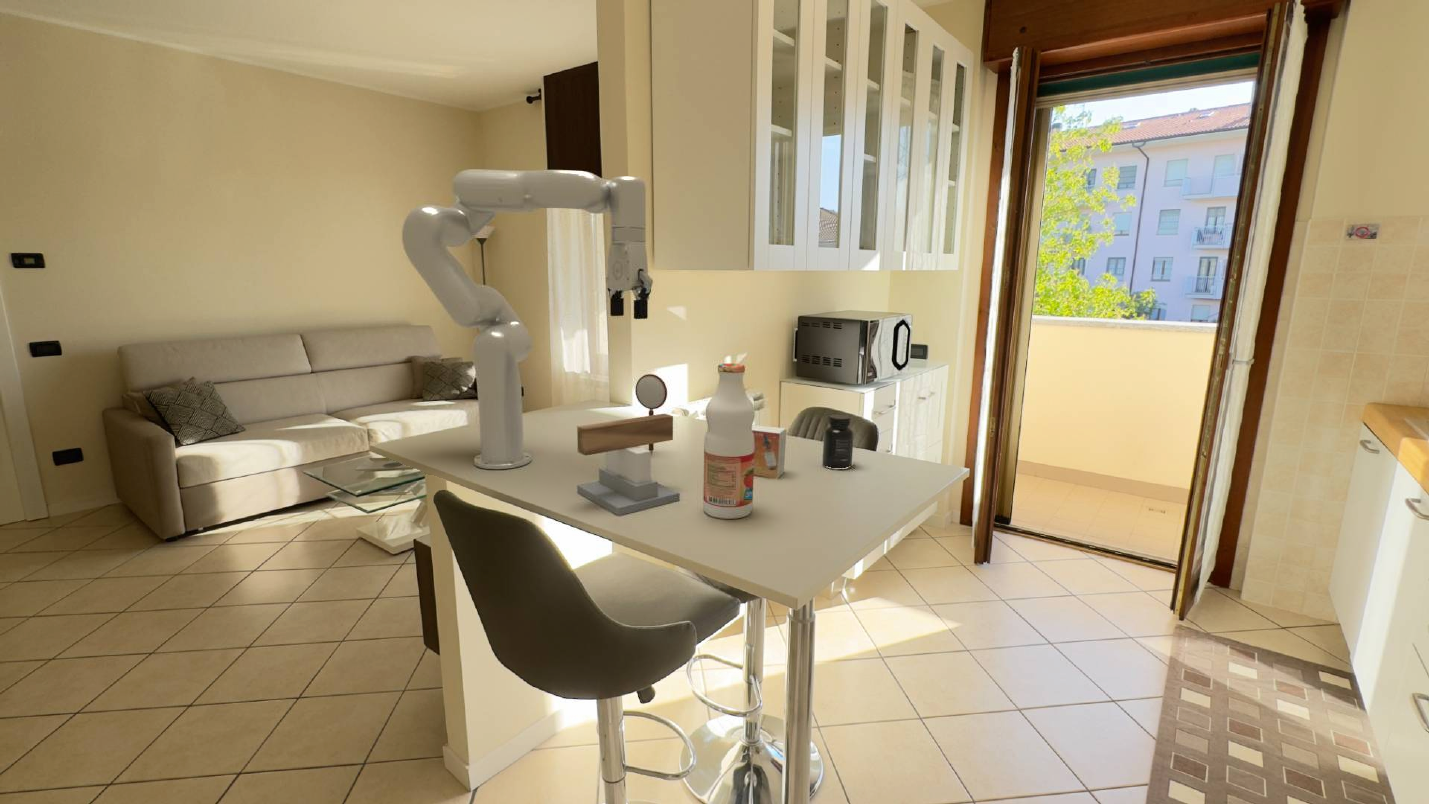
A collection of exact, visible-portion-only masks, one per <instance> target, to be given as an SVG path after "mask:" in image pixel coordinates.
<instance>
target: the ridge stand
mask: <svg viewBox="0 0 1429 804" xmlns="http://www.w3.org/2000/svg"><path fill="white" fill-rule="evenodd" d="M651 458H652V454H651V451H650V450H649V449H646V448H643V447H642V446H637V447H631V448H625V449H620V450H614V451H609V452H605V467H600V468H598V477H599V478H598V480H597V481H591V482H587V483H583V484H577V485H576V493H577V492H578V494H579V495H581V496H583V497H584V498H586V499H588V500H589V501H592V502H594V504H597V505H598V506H600V507H602V508H603V509H605V510H607V511H609V512H611V513H613V514H614V515H616V516H618V517H619V516H623V515H628V514H631V513H635V512H638V511H639V512H640V511H643V510H647V509H652V508H655V507H658V506H659V507H660V506H662V505H663V506H664V505H666V504H671V503H675V502H678V501H680V497H681V496H680V495H681V494H680V492H679V491H675V490H673V489H671V488H670V487H667V486H664V485H662V484H661V483H659V481H658V480H655V479H653V478H652V476H651V475H652V473H651V472H652V471H651V470H652V467H651V466H652V465H651V464H652V463H651V462H652V459H651Z"/></svg>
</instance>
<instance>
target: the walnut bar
mask: <svg viewBox="0 0 1429 804" xmlns="http://www.w3.org/2000/svg"><path fill="white" fill-rule="evenodd" d="M576 427H577V428H576V429H577V432H576V433H577V435H576V436H577V453H579V454H581V455H583V456H585V457H586V456H591V455H596V454H603V453H606V452H609V451H614V450H620V449H625V448H631V447H637V446H639V447H642V446H646V445H648V446H649V444H653V443H654V444H657V443H659V444H660V443H663V442H664V443H665V442H670V441H673V440H674V416H673V415H670V414H668V413H659V414H658V413H657V414H654V415H651V416H649V415H646V416H639V417H633V418H627V419H626V418H625V419H620V420H619V419H618V420H612V421H604V422H598V423H597V422H596V423H591V424H585V425H579V426H576Z"/></svg>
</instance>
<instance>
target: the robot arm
mask: <svg viewBox="0 0 1429 804" xmlns="http://www.w3.org/2000/svg"><path fill="white" fill-rule="evenodd" d="M646 188H647V187H646V182H645V180H643V179H642V178H640V177H637V176H631V175H630V176H628V175H627V176H623V175H621V176H620V175H619V176H615V177H613V178H612V179H606V178H605V179H604V178H602V177H600V176H598V175H596V174H594V173H592V172H589V171H584V170H572V169H571V170H570V169H569V170H568V169H567V170H566V169H565V170H564V169H541V170H538V169H537V170H534V169H533V170H513V169H512V170H508V169H507V170H506V169H504V170H503V169H481V168H480V169H476V168H475V169H473V168H472V169H469V168H468V169H464V170H461V171H460V172H458V173H457V174H456V175H455V176H454V177H453V180H452V184H451V191H452V195H453V197H454V198H455V202H453V203H452V205H450V206H449V207H445V206H441V205H436V204H423V205H419V206H417V207H415V208H414V209H412V210H411V211H410V212H409V213H408V214H407V216H406V217H405V220H404V222H403V225H402V231H401V239H402V240H401V241H402V246H403V249H404V252H405V254H406V256H407V259H408V260H409V262H410V263H411V265H412V266H413V267H414V269H415V271H417V273H418V274H419V276H420V277H421V278H422V279H423V281H424V282H425V283H426V285H427V286H428V288H430V291H431V292H432V293H433V295H434V296H435V298H436V299H437V300H438V301H439V303H440V304H441V306H442V307H443V309H445V311H446V313H447V314H448V315H449V317H450V318H451V319H452V321H453V322H454V323H456V325H458V326H460V327H462V328H465V329H471V328H472V329H473V328H478V329H479V332H478V334H476V336H474V339H473V341H472V346H471V357H472V362H473V367H474V370H475V377H476V388H477V399H478V400H477V403H478V419H479V421H478V422H479V437H480V439H479V442H480V454H478V455H476V456H475V457H474V459H473V464H474V465H475V466H476V467H478V468H481V469H487V470H505V469H506V470H507V469H508V470H509V469H515V468H518V467H522V466H525V465H527V464H529V463H530V462H531V460H532V455H531V453H529V452H527V451H525V450H524V449H525V448H524V447H525V446H524V445H525V443H524V420H523V419H524V417H523V398H522V381H521V376H520V370H519V367H518V363H520V362H522V361H524V360H525V359H526V358H527V357H529V355H530V353H531V351H532V346H533V341H532V340H533V339H532V336H531V335H530V334H531V333H530V332H529V330H528V329H527V328H526V326H525V324H524V323H523V322H522V320H521V318H519V316H518V315H517V314H516V312H515V311H514V309H513V308H512V307H511V304H510V303H509V302H508V301H507V300H506V298H505V297H504V296H503V295H502V294H501V293H500V292H499V291H498V290H497V289H496V288H493V287H492V286H489V285H486V284H478V283H476V282H475V281H474V280H473V279H472V277H471V276H470V274H468V272H467V271H466V269H465V268H464V266H463V265H462V263H461V262H460V261H459V260H458V259H457V258H456V257H455V256H454V255H453V254H452V253H451V252H450V251H449V249H448V248H457V247H458V248H459V247H462V246H464V245H466V244H467V243H469V242H470V241H472V239H474V238H475V236H477V235H478V234H479V233H480V232H481V231H482V230H483V229H484V228H485V227H486V226H487V225H488V224H489V223H491V221H493V219H494V218H495V217H496V216H497V215H498V214H499V213H500V212H509V213H511V212H512V213H533V212H535V211H537V210H540V209H572V210H582V211H586V212H588V213H591V214H596V215H597V214H598V215H599V214H607V213H610V214H609V215H610V219H609V220H610V225H609V227H610V244H609V248H608V257H607V268H606V269H607V274H606V278H605V282H606V285H607V291H608V297H609V304H610V306H609V307H610V308H609V309H610V310H609V311H610V314H609V315H610V316H611V317H623V316H624V315H625V314H624V313H625V309H624V308H625V306H624V304H625V297H623V295H624V293H625V291H627V292H628V291H631V292H632V294H633V296H634V298H635V299H634V300H633V319H635V320H647V319H648V318H649V316H648V315H649V314H648V313H649V312H648V311H649V310H648V307H649V306H648V305H649V304H648V301H649V300H650V294H651V293H652V286H653V283H654V280H653V278H652V277H650V275H649V268H648V256H647V255H648V254H647V247H646V245H647V242H646V241H647V237H646V235H647V234H646V233H647V231H646V228H647V224H646V223H647V221H646V219H647V218H646V217H647V216H646V214H647V213H646V207H647V204H646V201H647V199H646V198H647V197H646V196H647V194H646V193H647V191H646ZM447 247H448V248H447Z"/></svg>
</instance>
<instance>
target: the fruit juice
mask: <svg viewBox="0 0 1429 804" xmlns="http://www.w3.org/2000/svg"><path fill="white" fill-rule="evenodd" d="M745 371H746V367H745V365H744V364H741V363H730V362H729V363H727V362H726V363H720V364H718V366H717V373H718V375H719V379H718V384H717V387H716V390H715V392H714V395H713V397H711V399H710V400H709V402H707V405H706V407H705V420H706V423H707V429H706V431H705V436H704V440H703V441H704V443H703V484H702V485H703V488H702V489H703V490H702V491H703V492H702V494H703V495H702V497H703V498H702V505H703V511H704V513H706V514H707V516H710V517H714V518H718V519H721V520H722V519H723V520H734V519H736V520H737V519H741V518H745V517H747V516H749V515H750V514H751V513H752V510H753V502H754V501H753V500H754V496H753V495H754V476H755V475H754V451H755V442H754V435H753V432H752V425H754V421H755V417H756V413H755V412H756V411H755V407H754V404H753V402H752V401H751V400H750V398H749V397H748V394H747V393H746V389H745V385H744V379H743V378H744V375H745Z"/></svg>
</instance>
